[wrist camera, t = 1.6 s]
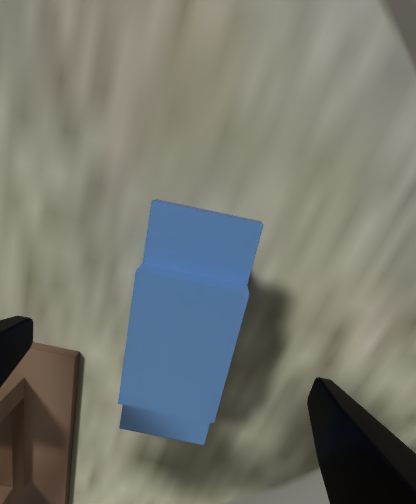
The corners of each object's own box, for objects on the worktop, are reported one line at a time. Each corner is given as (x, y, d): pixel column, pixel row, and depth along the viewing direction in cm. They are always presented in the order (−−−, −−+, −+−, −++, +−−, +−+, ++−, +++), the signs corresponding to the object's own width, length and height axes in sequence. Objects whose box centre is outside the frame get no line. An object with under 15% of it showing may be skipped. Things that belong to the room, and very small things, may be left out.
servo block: (153, 344, 15) (112, 445, 10) (178, 191, 13) (144, 203, 7) (209, 356, 15) (202, 464, 10) (246, 205, 13) (267, 228, 7)
